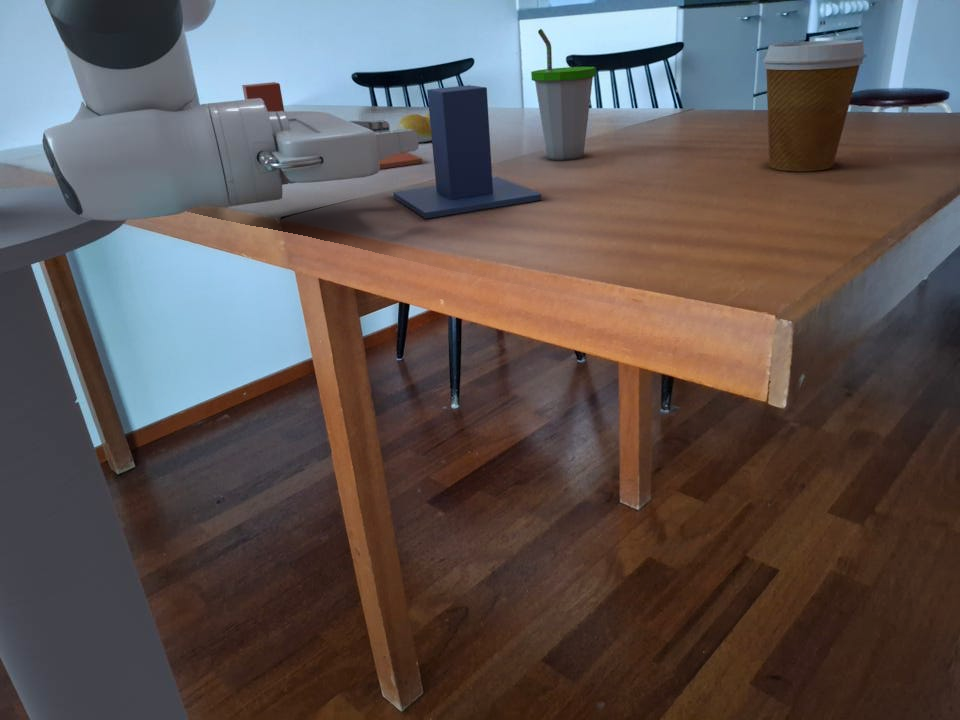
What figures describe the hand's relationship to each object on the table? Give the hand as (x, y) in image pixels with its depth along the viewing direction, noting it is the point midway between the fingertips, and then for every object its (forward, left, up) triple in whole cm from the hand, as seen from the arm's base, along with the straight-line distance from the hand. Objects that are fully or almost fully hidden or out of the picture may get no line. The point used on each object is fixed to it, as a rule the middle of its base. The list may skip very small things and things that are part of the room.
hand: (401, 133), depth 69 cm
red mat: (-1, +33, -7) cm, 34 cm away
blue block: (+6, 0, -6) cm, 9 cm away
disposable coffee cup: (+41, -9, -7) cm, 42 cm away
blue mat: (+6, 0, -7) cm, 9 cm away
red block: (-8, +39, -6) cm, 40 cm away
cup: (+25, +14, -7) cm, 30 cm away
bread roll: (+16, +44, -7) cm, 47 cm away
